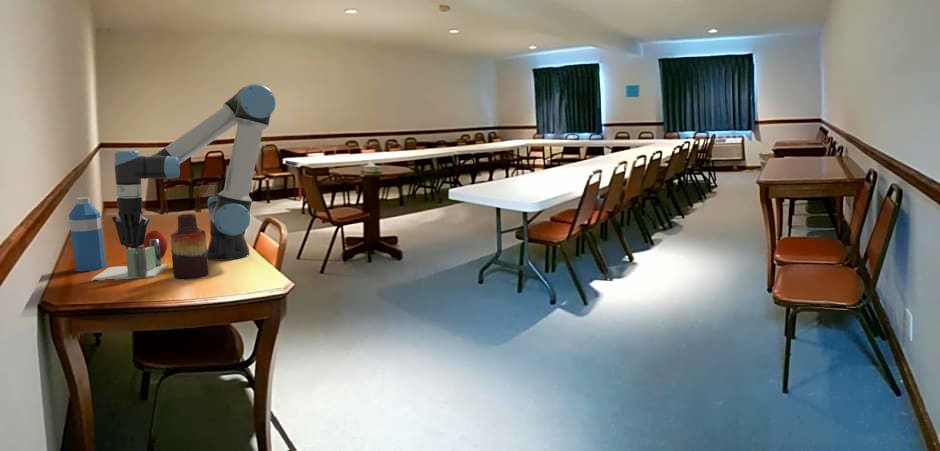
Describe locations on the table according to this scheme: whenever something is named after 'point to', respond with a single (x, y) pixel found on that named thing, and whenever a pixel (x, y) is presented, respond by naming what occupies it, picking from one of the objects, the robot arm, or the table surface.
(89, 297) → the table surface
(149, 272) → the board
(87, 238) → the water bottle
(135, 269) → the gate
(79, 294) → the table surface
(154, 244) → the hinge post
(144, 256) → the stop post
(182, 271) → the vase
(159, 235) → the apple
